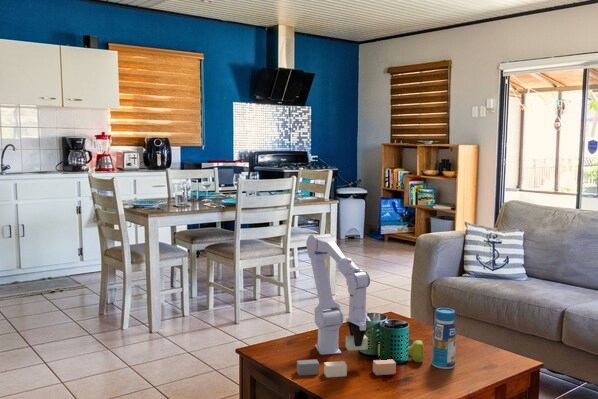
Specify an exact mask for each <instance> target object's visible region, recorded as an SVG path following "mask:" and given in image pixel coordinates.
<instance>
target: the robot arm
mask: <svg viewBox="0 0 598 399" xmlns="http://www.w3.org/2000/svg"><path fill="white" fill-rule="evenodd" d="M305 244H306V250H307V254H308V258H309V259H310V263H311V268H312V272H313V273H312V274H313V276H314V277H313V278H314V281H315V286H316V287H315V288H316V292H317V297H318V302H319V303H318V304H317V306H315V308H314V309H313V310H314V323H315V326H317V328H318V329H317V344H315V345H314V346H315V348H316V350H317V352H318V353H319V355H337V354H338V355H339V354H342V351H341V350H340V348H339V329H340V328H341V326H342V325H343V323H344V319H345V321H346V324H347V327H348V330H349V334H350V335H349V336H354V343H355V346H361V345H362V341H363V338H364V335H365V336H366V333H367V331H368V328H369V327H367V324H366V321H367V318H366V312H367V311H366V308H367V288H368V287H369V286H370V283H371V278H370V275H369V273H368V271H366V270H363V269H360V268H359V267H358V265H357V264H356V263H355V262H354V261H353V259H352V258H350V257H346V256H345V254H344V253H343V252H342V250H341V248H340V247H339V246H338V245H337V238H336V237H335V235H334V234H333V233H331V232H329V233H324V234H320V233H319V234H310V235H308V237H307V240H306V242H305ZM328 256H330V257H331V258H332V259H333V260H334V261H335V262H336V263H337V269H338V271H339V272H340V273H341V274H342V275H343V277H344V278H345V281H346V286H347V291H348V294H349V301H348V302H349V304H348V317H345V318H344V313H343V311H342V309H341V305H340V304H339V303H337V302H336V301H335V300H334V298H333V292H332V288H331V285H330V278H329V274H328V269H327V265H326V264H327V263H326V258H327V257H328Z"/></svg>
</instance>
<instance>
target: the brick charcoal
mask: <svg viewBox="0 0 598 399" xmlns="http://www.w3.org/2000/svg"><path fill="white" fill-rule="evenodd" d="M296 373H297V375H298V376H309V375H310V376H314V375H319V374H320V363H319V361H318V359H315V358H314V359H303V360H302V359H301V360H300V359H299V360H296Z"/></svg>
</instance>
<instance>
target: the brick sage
mask: <svg viewBox="0 0 598 399" xmlns="http://www.w3.org/2000/svg"><path fill="white" fill-rule="evenodd" d="M368 342H369V337H367V336H366V334H365V335H364V338H363V341H362V345H361V346H355V343H354V336H351V335H345V348H346V350H347V351H359V350H360V351H362V350H363V351H364V350H368V347H369V346H368V344H369V343H368Z"/></svg>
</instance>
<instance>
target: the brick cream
mask: <svg viewBox="0 0 598 399" xmlns="http://www.w3.org/2000/svg"><path fill="white" fill-rule="evenodd" d="M323 365H324V366H323V373H324V376H325V378H339V377H347V374H348V365H347V363H346V362H345V360H341V361H338V360H337V361H326V362H323Z"/></svg>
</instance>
